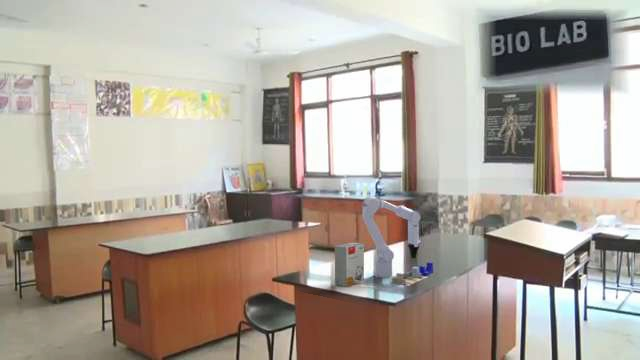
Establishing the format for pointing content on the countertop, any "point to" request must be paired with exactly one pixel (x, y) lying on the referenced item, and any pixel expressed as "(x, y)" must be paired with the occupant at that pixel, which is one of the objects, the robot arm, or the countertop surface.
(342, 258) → the hard drive box
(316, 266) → the countertop surface
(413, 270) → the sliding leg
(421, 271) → the cable clip
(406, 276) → the board
